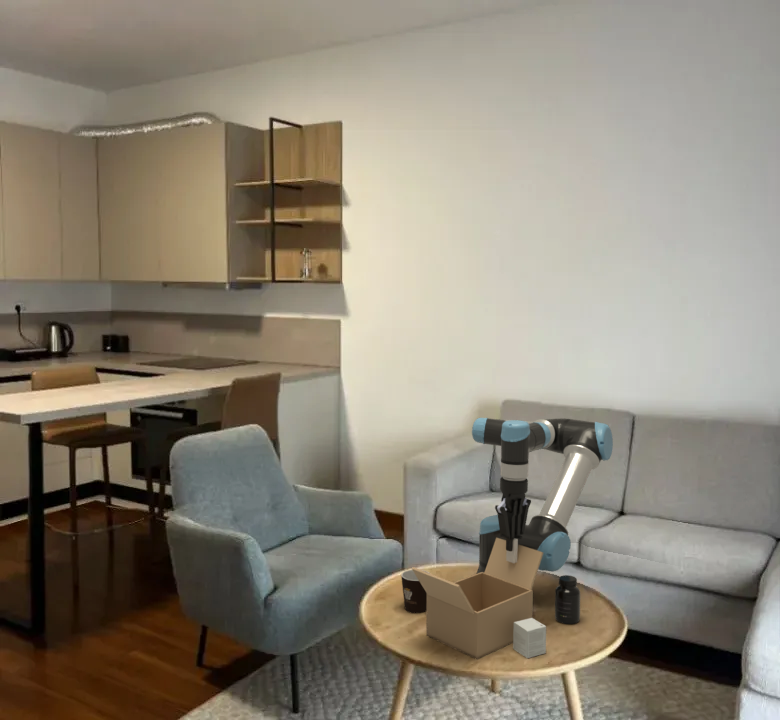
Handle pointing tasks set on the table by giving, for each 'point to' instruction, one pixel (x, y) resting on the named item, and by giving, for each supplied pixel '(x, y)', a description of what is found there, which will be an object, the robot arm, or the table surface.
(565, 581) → the supplement bottle
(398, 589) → the table surface
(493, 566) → the flap
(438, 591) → the flap
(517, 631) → the product box
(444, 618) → the carton
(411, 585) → the coffee mug
